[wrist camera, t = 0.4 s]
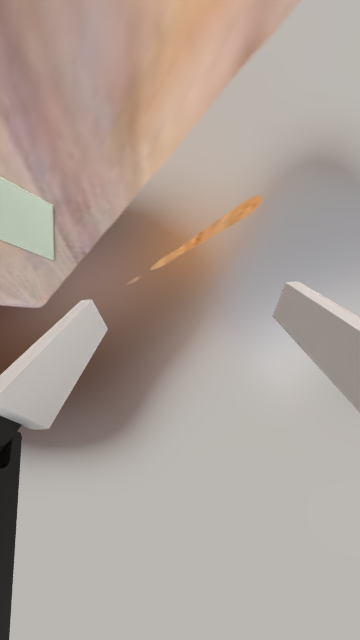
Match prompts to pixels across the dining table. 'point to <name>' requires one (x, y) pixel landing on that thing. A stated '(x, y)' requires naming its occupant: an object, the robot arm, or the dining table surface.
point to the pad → (26, 220)
